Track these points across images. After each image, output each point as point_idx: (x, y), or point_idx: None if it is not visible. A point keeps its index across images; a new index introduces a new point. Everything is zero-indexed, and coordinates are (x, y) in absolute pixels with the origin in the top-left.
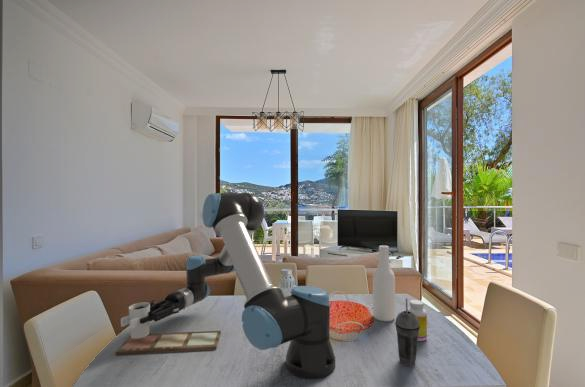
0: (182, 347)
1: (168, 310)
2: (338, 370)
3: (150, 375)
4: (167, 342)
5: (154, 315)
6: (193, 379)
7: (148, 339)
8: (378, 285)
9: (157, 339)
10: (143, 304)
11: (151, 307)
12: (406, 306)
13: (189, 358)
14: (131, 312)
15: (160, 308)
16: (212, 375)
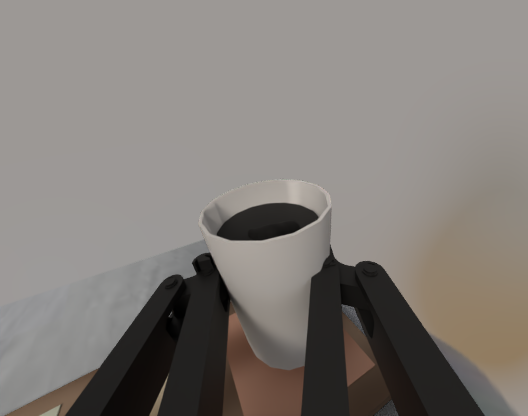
0: (82, 384)
1: (78, 409)
2: None
3: (162, 263)
4: (160, 392)
5: (178, 278)
6: (66, 288)
7: (269, 375)
8: None
9: (227, 401)
10: (294, 245)
11: (305, 375)
12: None
13: (64, 352)
14: (268, 195)
15: (175, 386)
16: (14, 314)
